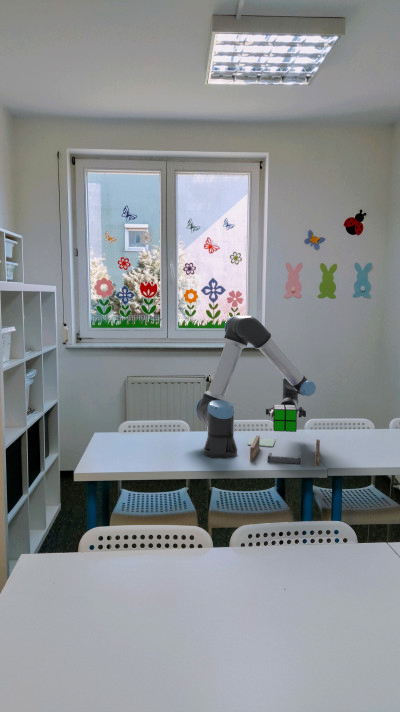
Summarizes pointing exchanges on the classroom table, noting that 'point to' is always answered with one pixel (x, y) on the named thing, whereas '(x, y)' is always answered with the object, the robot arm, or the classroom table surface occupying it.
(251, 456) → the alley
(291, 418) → the puzzle cube
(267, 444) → the mat
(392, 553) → the classroom table surface
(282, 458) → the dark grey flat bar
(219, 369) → the robot arm
